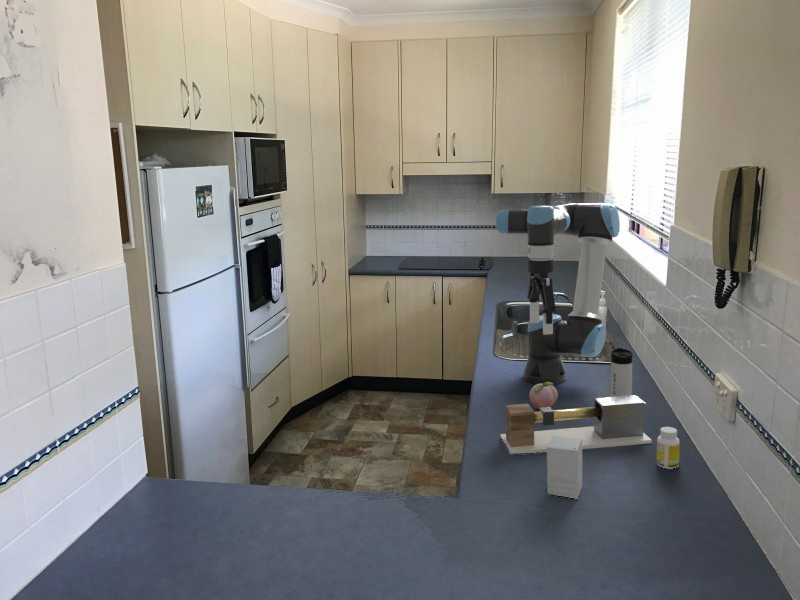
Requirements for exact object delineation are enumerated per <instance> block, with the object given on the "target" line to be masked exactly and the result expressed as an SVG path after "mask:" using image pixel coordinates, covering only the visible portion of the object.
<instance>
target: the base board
mask: <svg viewBox="0 0 800 600" xmlns="http://www.w3.org/2000/svg"><path fill="white" fill-rule="evenodd" d="M553 435H554V436H562V437H570V438H579V439H582V450H589V449H590V450H591V449H603V448H612V447H623V446H624V447H626V446H634V445H646V444H648V445H649V444H652V441H653V440H652V439H651V437H649V436H648V435H647V434H646V433H645V432H643V436H634V437H623V438H611V439H601V438H600V437H599V435H598V434H597V433H596V432H595V431H594V425H593V426H583V427H570V428H559V429H545V430H536V431H535V430H534V445H530V446H519V447H511V446H510V444H509V442H508V441H507V439H506V433H500V434H499V437H500V436H501V438H502V439H503V441H504V443H505V444H506V446H507V448H508V449H509V451H510V453H532V452H533V453H534V454H537V453H536V452H539V453H538V454H543V452H545V453H547V446H548V444H549V442H550V441H551V439H552V437H553ZM501 438H500V439H501ZM503 441H502V442H503ZM504 443H503V444H504ZM507 448H506V449H507ZM510 453H509V454H510Z"/></svg>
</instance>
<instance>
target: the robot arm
mask: <svg viewBox="0 0 800 600" xmlns="http://www.w3.org/2000/svg"><path fill="white" fill-rule="evenodd" d="M495 217H496V218H495V227H496V230H497V231H498V233H500V234H507V235H511V234H512V235H518V234H519V235H520V234H521V235H527V248H525V250H526V251H525V252H527V258H528V260H527V272H528V273H529V284H528V289H527V296H526V297H527V299H528V301H529V319H528V325H527V344H528V345H527V351H528V356H527V360H526V364H525V366H524V369H523V380H525V381H526V380H527V381H526V382H528V381H529V383H531V382H532V383H531V384H535V385H537V384H541V383H543V381H544V383H545V382H551V383H553V384H554V385H556V384H561V383H564V382H565V380H567V373H566V369H565V366H564V362H563V360H562V354H563V355H565V354H566V355H572V356H578V357H579V356H580V357H582V358H583V357H585V358H586V357H587V358H588V357H589V358H594V357H597V356H599V355H600V353H601V351H602V350H603V347H604V345H605V342H606V339H607V338H606V337H607V327H606V326H605V325H604V324H603V323H602V321H603V319H602V318H601V316H600V315H599V310H600V303H601V301H600V300H601V295H602V294H601V293H602V285H603V279H604V272H605V270H604V269H605V261H606V254H607V248H608V246H610V245H611V244H612V243H613V238H616V237H618V236H619V232H620V227H621V226H620V215H619V211H618V209H617V207H616V206H615V204H612V203H603V202H595V203H593V202H592V203H590V202H589V203H588V202H587V203H582V202H581V203H578V202H577V203H576V202H575V203H566V204H561V205H554V206H553V205H552V206H551V205H532V206H530V207H528V209H501V210H500V211H498V212H497V214H496V216H495ZM556 235H565V236H573V237H574V236H575V237H577V241H578V242H579V243H580V245H581V246H580V253H579V262H578V267H577V268H578V269H577V276H576V283H575V292H574V293H575V294H574V298H573V306H572V307H573V308H572V311H571V312H569V314H568V315H567V317H566V320H562V316H561V315H560V314H555V313H556V311H557V308H556V303H555V296H554V295H555V294H554V288H553V278H552V277H549V275H548V274H551V273H553V272H554V269H555V267H554V265H555V264H554V263H555V261H554V259H553V258H554V256H555V244H554V242H555V241H554V240H555V237H554V236H556ZM540 301H541V302H542V303H541V304H542V308H543V310H541V313H542V315H540Z"/></svg>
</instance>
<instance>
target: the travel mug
mask: <svg viewBox="0 0 800 600" xmlns="http://www.w3.org/2000/svg"><path fill="white" fill-rule="evenodd" d="M610 353H611V354H610V356H611V357H610V358H611V359H610V391H609V393H610V395H609V397H615V396H628V395H633V394H632V392H633V388H632V387H633V352H632V351H631V350H628V349H625V348H623V347H616V348H615V349H613V350H611V351H610Z"/></svg>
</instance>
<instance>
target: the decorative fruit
mask: <svg viewBox="0 0 800 600" xmlns="http://www.w3.org/2000/svg"><path fill="white" fill-rule="evenodd" d="M528 396H529V400H530V403H531V404H532V405H533V407H535V408H536V409H537V410H539V411H540V408H542V407H551V408H552V407H554V406H555V403H556V402H557V400H558V398H559V393H558V389H556V387H555V384H553V383H551V382H545V383H544V381H543V383H541V384H535V385H534V386H532V388H530V391H529V395H528Z"/></svg>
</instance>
